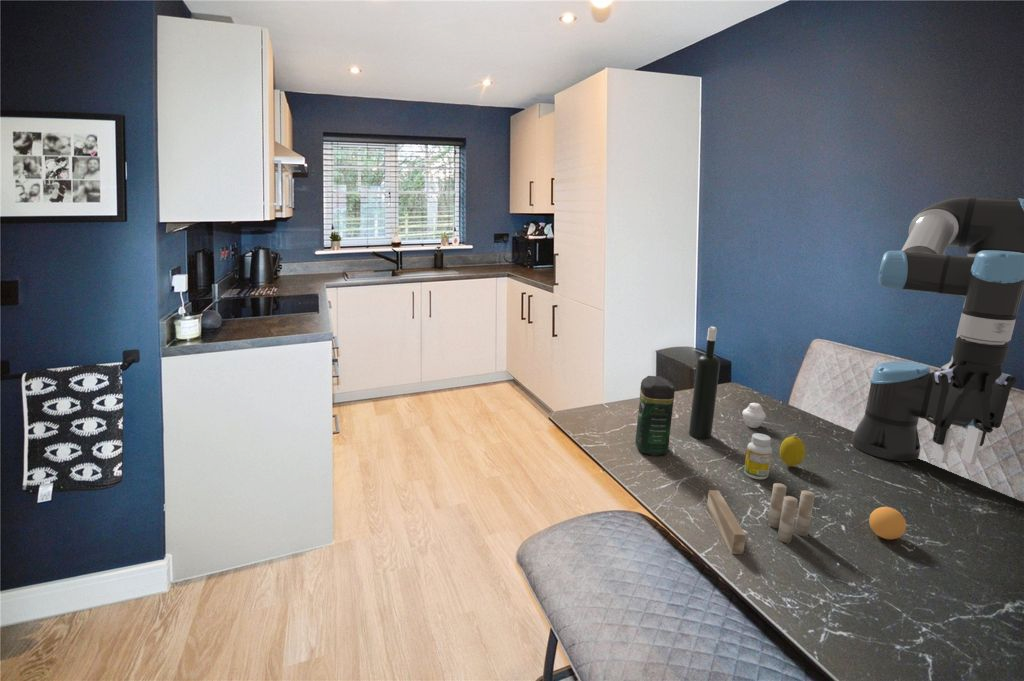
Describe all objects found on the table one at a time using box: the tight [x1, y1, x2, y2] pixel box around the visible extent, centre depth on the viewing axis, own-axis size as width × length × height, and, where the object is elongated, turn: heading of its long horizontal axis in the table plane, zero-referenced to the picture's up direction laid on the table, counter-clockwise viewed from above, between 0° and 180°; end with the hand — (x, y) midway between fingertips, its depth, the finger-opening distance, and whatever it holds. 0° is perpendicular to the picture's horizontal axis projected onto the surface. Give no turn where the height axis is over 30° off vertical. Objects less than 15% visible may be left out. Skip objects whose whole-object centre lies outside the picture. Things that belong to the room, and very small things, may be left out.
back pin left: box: [776, 495, 799, 544], centre depth 111 cm, size 2×2×8 cm
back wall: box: [706, 489, 747, 555], centre depth 114 cm, size 2×16×4 cm, turn 178°
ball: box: [868, 506, 907, 540], centre depth 113 cm, size 6×6×6 cm
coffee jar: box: [634, 375, 676, 456], centre depth 147 cm, size 10×8×19 cm
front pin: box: [793, 489, 816, 537], centre depth 113 cm, size 2×2×8 cm
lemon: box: [779, 435, 806, 467], centre depth 141 cm, size 6×6×8 cm
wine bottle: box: [688, 325, 721, 440], centre depth 155 cm, size 6×6×30 cm
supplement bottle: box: [743, 432, 773, 480], centre depth 136 cm, size 5×5×10 cm
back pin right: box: [766, 482, 788, 529], centre depth 116 cm, size 2×2×8 cm
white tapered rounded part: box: [741, 402, 767, 429], centre depth 165 cm, size 6×6×7 cm
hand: (953, 460), depth 109 cm, fingers open, 4 cm apart
